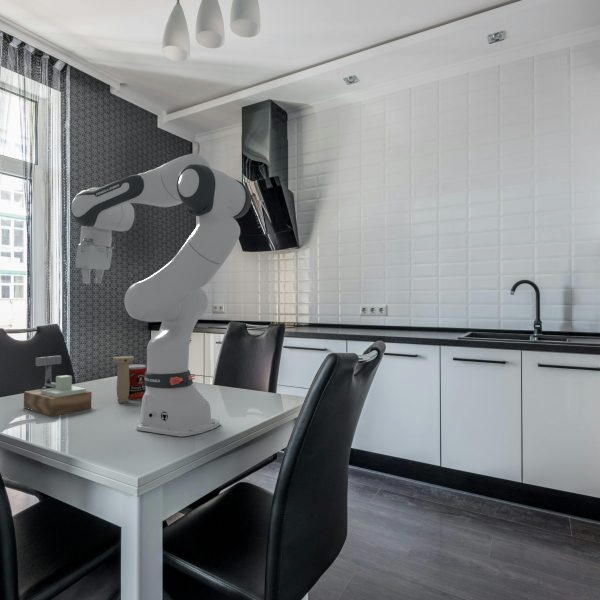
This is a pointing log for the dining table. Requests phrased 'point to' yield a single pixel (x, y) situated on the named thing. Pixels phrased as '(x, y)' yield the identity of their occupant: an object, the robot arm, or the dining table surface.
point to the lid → (63, 388)
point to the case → (56, 402)
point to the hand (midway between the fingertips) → (92, 283)
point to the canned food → (137, 381)
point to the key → (48, 368)
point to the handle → (123, 377)
